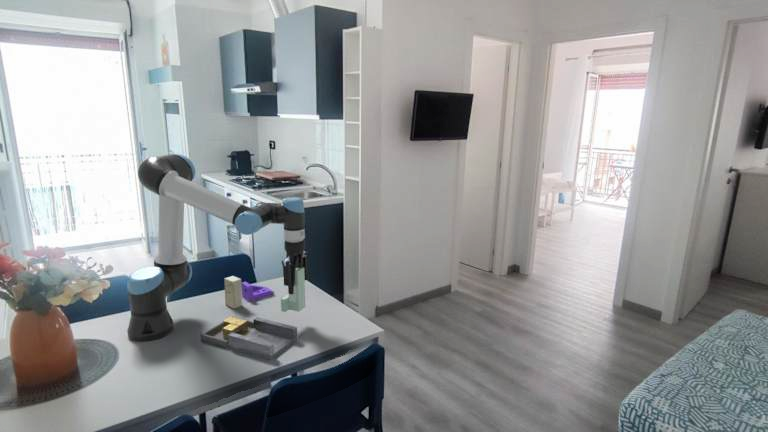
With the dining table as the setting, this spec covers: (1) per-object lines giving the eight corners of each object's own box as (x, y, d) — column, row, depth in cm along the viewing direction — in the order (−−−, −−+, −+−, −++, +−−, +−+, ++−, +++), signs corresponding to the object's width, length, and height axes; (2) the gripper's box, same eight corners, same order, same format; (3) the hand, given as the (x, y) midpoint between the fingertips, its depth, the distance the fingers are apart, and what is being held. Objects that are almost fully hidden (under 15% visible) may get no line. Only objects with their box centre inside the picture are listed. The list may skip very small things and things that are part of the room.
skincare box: (225, 305, 184) (223, 278, 181) (234, 301, 188) (232, 275, 185) (234, 309, 181) (232, 281, 178) (243, 305, 184) (241, 278, 181)
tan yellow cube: (232, 333, 160) (231, 323, 159) (239, 328, 163) (239, 318, 162) (240, 335, 158) (239, 325, 157) (248, 330, 162) (247, 320, 161)
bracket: (249, 301, 189) (248, 287, 187) (242, 297, 194) (241, 282, 192) (274, 294, 196) (273, 280, 195) (266, 290, 201) (266, 276, 200)
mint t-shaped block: (281, 311, 163) (279, 270, 159) (295, 301, 171) (294, 263, 167) (295, 314, 160) (293, 273, 156) (309, 304, 168) (307, 265, 165)
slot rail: (228, 348, 151) (227, 334, 149) (257, 329, 164) (257, 317, 163) (270, 360, 143) (270, 346, 142) (297, 339, 157) (296, 327, 156)
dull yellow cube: (223, 330, 161) (223, 320, 160) (231, 326, 165) (230, 316, 164) (232, 333, 160) (231, 323, 159) (239, 328, 163) (239, 318, 162)
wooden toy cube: (223, 338, 156) (222, 328, 155) (231, 333, 159) (230, 323, 158) (232, 340, 154) (231, 330, 153) (239, 335, 158) (239, 325, 157)
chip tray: (201, 340, 155) (200, 334, 154) (233, 322, 169) (232, 316, 169) (226, 348, 150) (226, 341, 150) (257, 328, 165) (257, 322, 164)
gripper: (288, 247, 150) (291, 309, 155) (316, 235, 165) (317, 292, 171) (271, 244, 153) (274, 305, 158) (299, 232, 168) (301, 289, 173)
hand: (296, 298), depth 164 cm, fingers closed on mint t-shaped block, 4 cm apart
